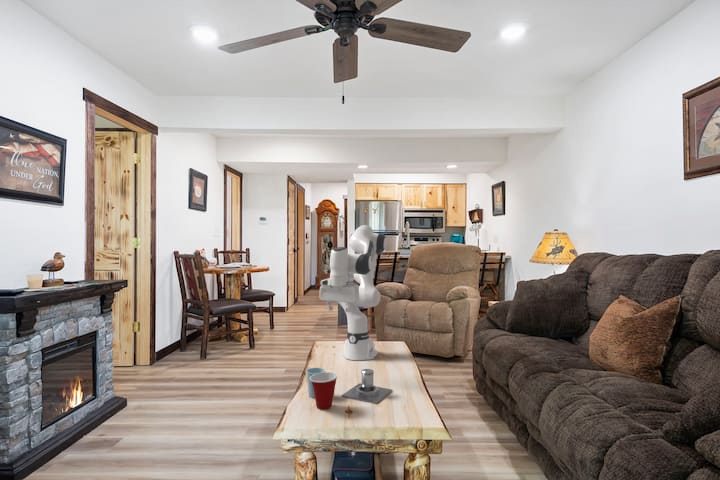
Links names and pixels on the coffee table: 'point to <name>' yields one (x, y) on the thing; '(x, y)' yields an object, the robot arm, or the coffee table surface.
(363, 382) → the metal cylinder
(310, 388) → the cup
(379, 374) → the coffee table surface
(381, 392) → the flange
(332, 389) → the plastic cup
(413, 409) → the coffee table surface
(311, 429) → the coffee table surface
